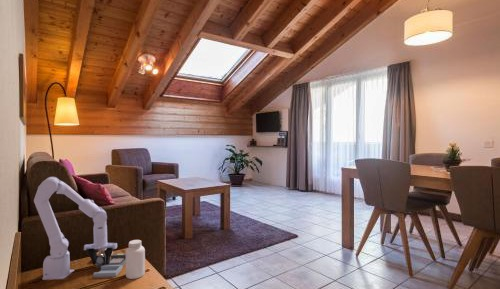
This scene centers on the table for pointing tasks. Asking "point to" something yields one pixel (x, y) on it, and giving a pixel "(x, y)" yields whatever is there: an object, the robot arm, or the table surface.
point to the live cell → (100, 260)
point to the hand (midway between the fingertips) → (101, 263)
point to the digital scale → (118, 257)
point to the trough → (108, 271)
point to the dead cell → (102, 251)
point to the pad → (116, 261)
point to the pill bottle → (135, 260)
